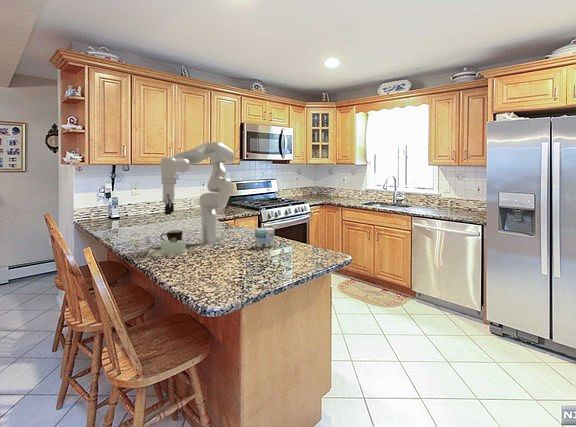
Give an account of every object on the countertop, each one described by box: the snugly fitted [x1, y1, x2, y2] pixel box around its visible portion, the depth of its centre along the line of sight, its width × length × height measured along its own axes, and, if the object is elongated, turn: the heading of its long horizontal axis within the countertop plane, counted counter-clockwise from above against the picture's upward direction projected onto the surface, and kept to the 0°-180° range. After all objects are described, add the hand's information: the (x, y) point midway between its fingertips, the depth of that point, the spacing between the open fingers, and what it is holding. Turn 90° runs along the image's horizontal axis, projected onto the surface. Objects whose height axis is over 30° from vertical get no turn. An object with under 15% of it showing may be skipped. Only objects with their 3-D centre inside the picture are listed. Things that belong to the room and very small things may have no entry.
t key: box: [138, 234, 158, 247], centre depth 215 cm, size 2×10×6 cm, turn 102°
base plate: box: [146, 248, 188, 257], centre depth 192 cm, size 20×14×2 cm
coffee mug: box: [160, 229, 183, 242], centre depth 209 cm, size 12×9×10 cm
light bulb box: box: [254, 227, 275, 248], centre depth 218 cm, size 11×7×11 cm, turn 112°
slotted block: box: [160, 239, 187, 254], centre depth 192 cm, size 12×6×6 cm, turn 103°
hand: (169, 213), depth 192 cm, fingers open, 9 cm apart
